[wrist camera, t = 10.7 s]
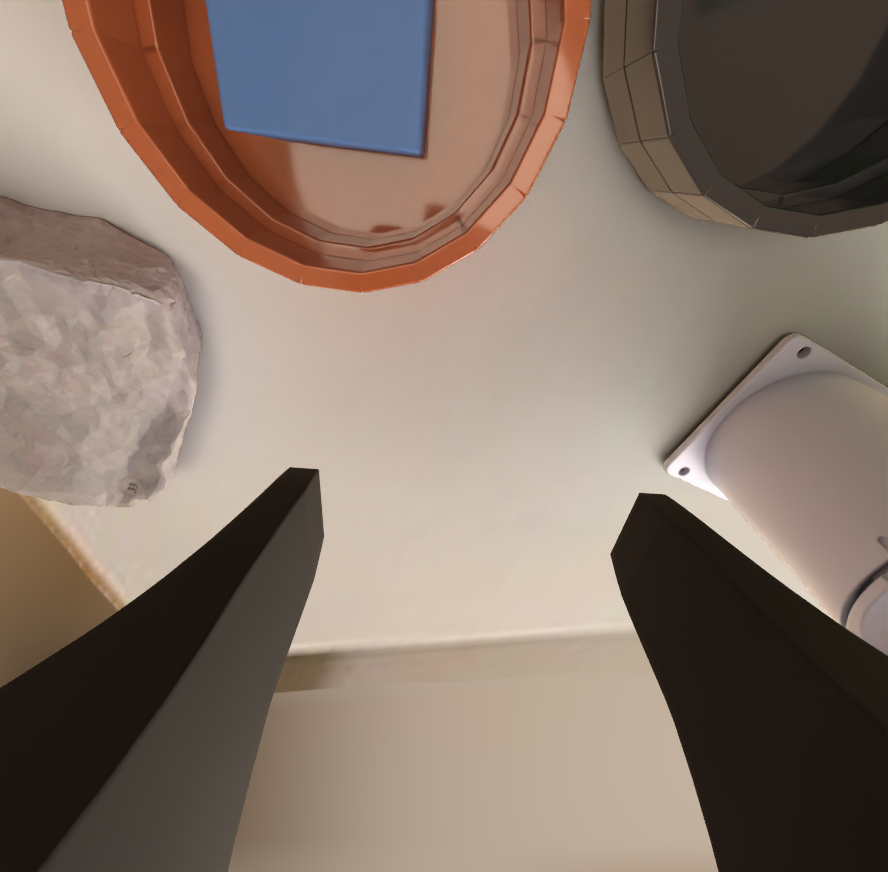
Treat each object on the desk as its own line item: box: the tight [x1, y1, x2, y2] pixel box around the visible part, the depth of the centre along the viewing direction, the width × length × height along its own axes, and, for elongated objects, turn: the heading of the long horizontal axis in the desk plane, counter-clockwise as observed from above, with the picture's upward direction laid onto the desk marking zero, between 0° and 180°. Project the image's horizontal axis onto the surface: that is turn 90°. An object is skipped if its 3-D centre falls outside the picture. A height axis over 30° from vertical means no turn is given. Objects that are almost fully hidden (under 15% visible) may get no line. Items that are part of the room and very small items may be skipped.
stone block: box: [0, 197, 202, 507], centre depth 16 cm, size 12×5×10 cm
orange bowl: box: [62, 0, 591, 293], centre depth 11 cm, size 12×12×4 cm
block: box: [205, 0, 434, 158], centre depth 10 cm, size 4×4×4 cm
